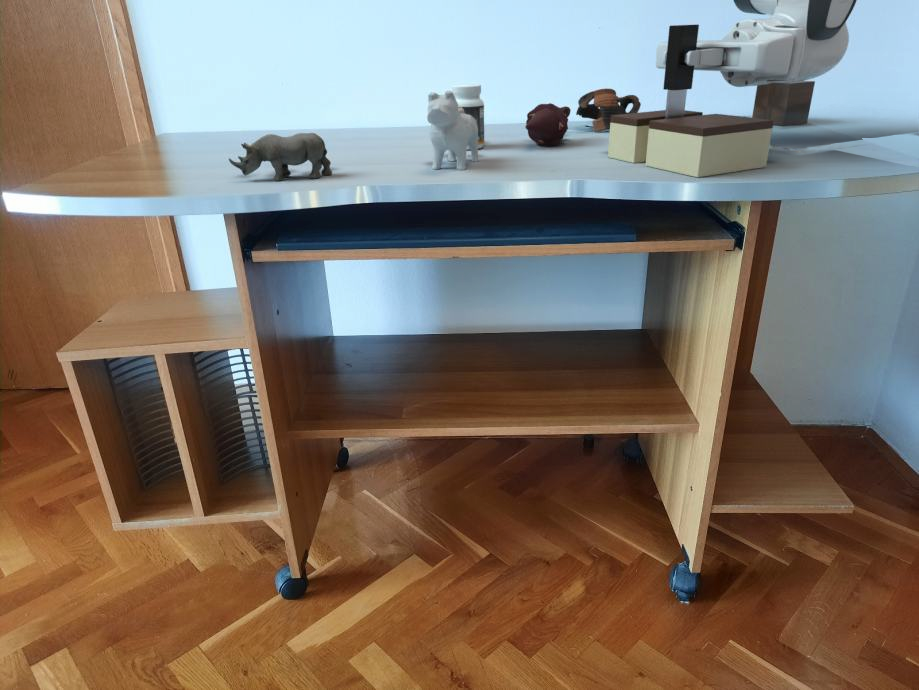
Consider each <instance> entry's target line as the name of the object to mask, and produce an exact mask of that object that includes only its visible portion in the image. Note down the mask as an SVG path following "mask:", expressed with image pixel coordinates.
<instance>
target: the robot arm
mask: <svg viewBox="0 0 919 690" xmlns="http://www.w3.org/2000/svg"><path fill="white" fill-rule="evenodd" d="M733 3H734V5H735V7H736V8H737V9H738V10H739V11H741V12H743V13H747V14H755V15H765V16H766V15H768V16H771V17H770V18H752V19H751V18H749V19H743V20H740V21H738V22H737V23H735V24H733V25H732V26H731V28H729V30H728V31H727V33H726V34H725V36H724V37H723V39H721V40H720V39H717V40H716V39H715V40H697V47H696V50H694V51H684V52H683V55H682V58H683V59H682V64H683V65H689V66H693V65H694V71H708V72H719V73H720V74H721V75H722V77H723V79H724V81H725V82H726V83H728V84H729V85H730V86H731V87H732V86H733V87H736V88H746V87H757V86H758V85H767V84H771V83H773V82H777V83H790V82H798V81H809V80H811V79H816V78H818V77H821V76H823V75H825V74H827V73H828V72H830V71H831V70H832V69H835V68H836V66H837V65H839V63H840V62H841V61H842V60H843V58H844V56H845V54H846V52H847V49H848V47H849V42H850V41H849V40H850V35H849V30H848V27H847V21H848V19H849V17H850V16H851V13H852V12H853V11H854V8H855V6H856V3H857V0H733ZM667 46H668V41H663V42H660V43H658V44H657V47H656V55H655V57H656V58H655V68H657V69H659V70H665V67H666V57H667Z"/></svg>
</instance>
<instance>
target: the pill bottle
mask: <svg viewBox="0 0 919 690" xmlns="http://www.w3.org/2000/svg"><path fill="white" fill-rule="evenodd" d="M452 92H453V93H454V96H455V99H456V101H457V103H458V109H460V108H462V109H464V113H465V114H468V115H471V116H472V117H473V118H474V120H475V121H476V123H477V127H478V150H479V149H482V148H483V147H485V103H484V100H483V99H482V98H481V97H480V95H481V93H482V85H481V84H468V83H467V84H454V85H453V86H452ZM469 150H470V147H469V146H467V148H466V151H469ZM470 151H471V150H470Z"/></svg>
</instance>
